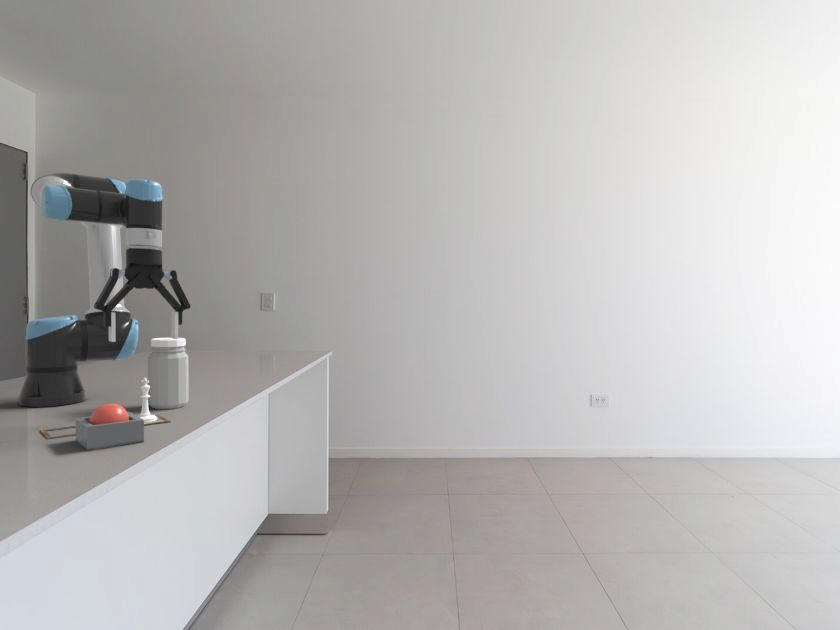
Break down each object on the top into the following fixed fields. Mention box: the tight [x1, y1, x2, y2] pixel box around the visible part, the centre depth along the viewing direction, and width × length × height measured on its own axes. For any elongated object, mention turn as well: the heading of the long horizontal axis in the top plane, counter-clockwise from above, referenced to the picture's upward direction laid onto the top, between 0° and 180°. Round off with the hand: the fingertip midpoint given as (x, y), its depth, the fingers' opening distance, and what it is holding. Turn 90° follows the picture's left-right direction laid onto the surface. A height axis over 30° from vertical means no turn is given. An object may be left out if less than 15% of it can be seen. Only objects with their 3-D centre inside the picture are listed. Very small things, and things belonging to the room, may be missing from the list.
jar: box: [147, 337, 190, 410], centre depth 148 cm, size 10×10×18 cm
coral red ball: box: [89, 403, 129, 425], centre depth 113 cm, size 7×7×7 cm
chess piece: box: [137, 377, 157, 423], centre depth 130 cm, size 5×5×10 cm
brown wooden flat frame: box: [39, 414, 171, 440], centre depth 125 cm, size 9×24×1 cm, turn 132°
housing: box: [74, 411, 145, 452], centre depth 113 cm, size 10×10×4 cm
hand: (144, 340), depth 130 cm, fingers open, 13 cm apart
